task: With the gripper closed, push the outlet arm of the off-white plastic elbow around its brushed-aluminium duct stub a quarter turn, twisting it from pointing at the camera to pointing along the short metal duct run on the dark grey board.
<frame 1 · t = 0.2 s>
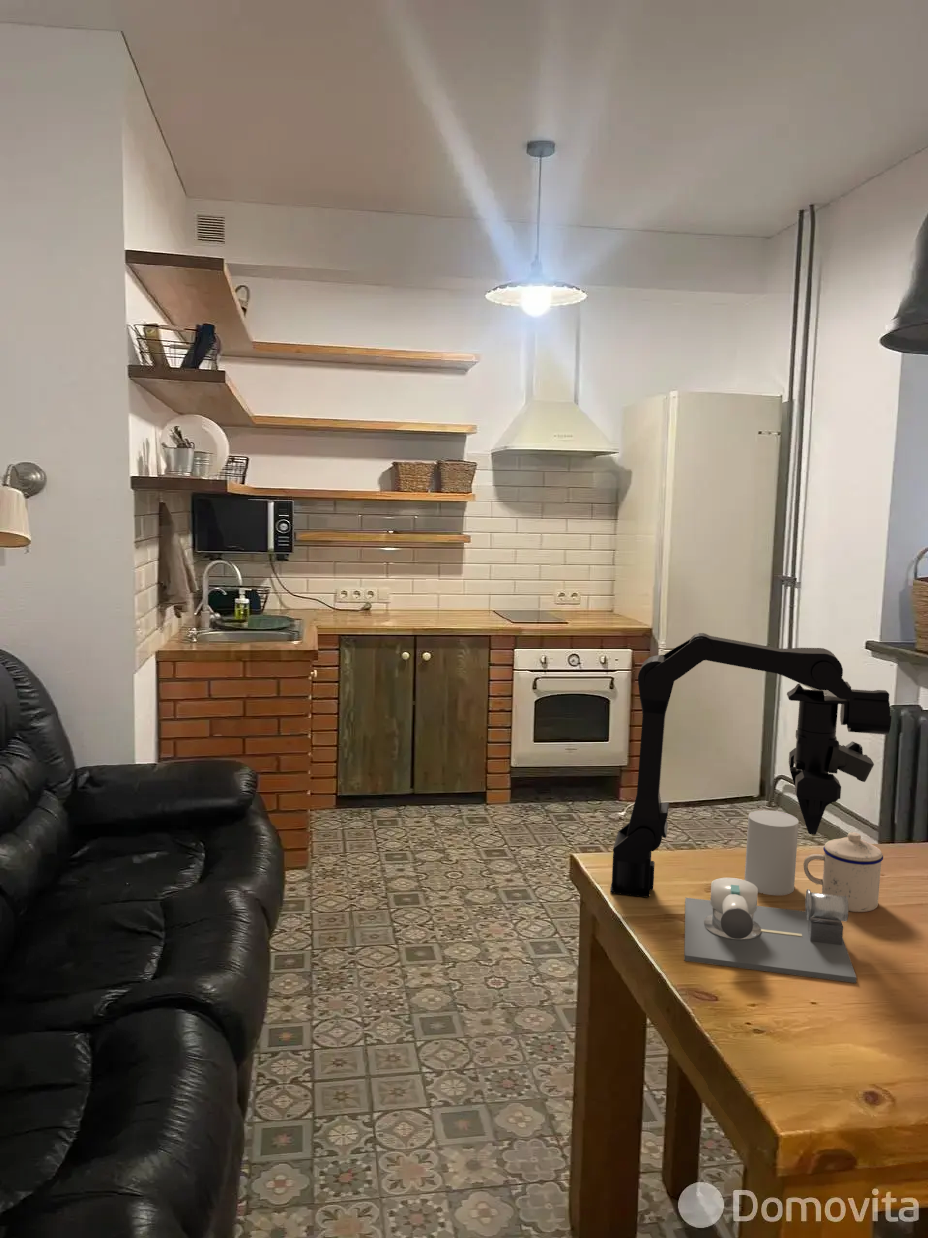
hand: (809, 824, 148), 14 cm above the table, fingers open, 9 cm apart
teacup with lid: (839, 901, 153), on the table
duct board: (763, 939, 139), on the table
duct run: (824, 943, 138), resting on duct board
elbow: (731, 932, 141), resting on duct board, hinge at 0.0°
duct stub: (731, 932, 141), resting on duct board
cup: (768, 886, 159), on the table
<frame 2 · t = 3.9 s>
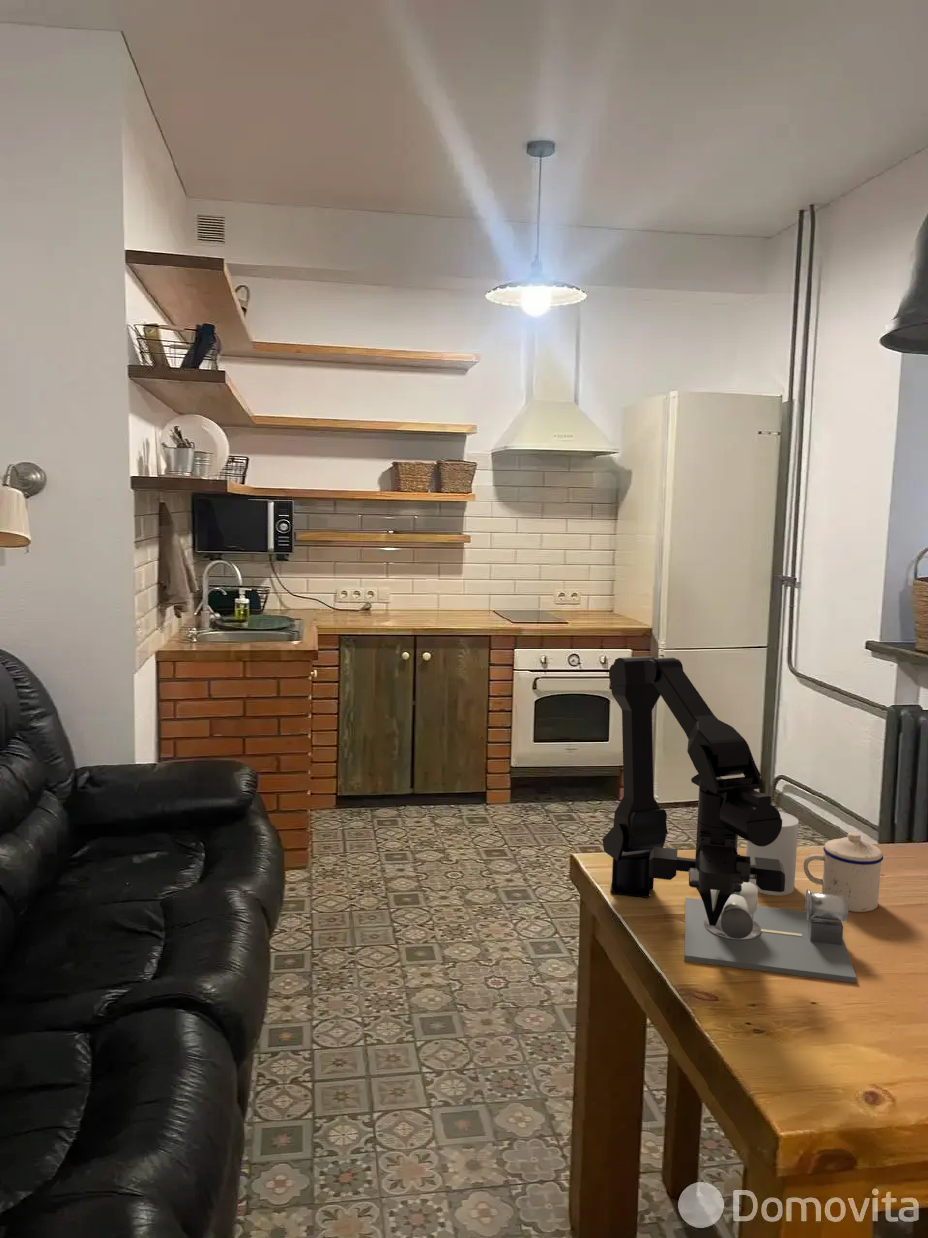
hand: (712, 924, 134), 4 cm above the table, fingers closed
elbow: (731, 932, 141), resting on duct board, hinge at 0.0°, touching gripper
everything else where it was.
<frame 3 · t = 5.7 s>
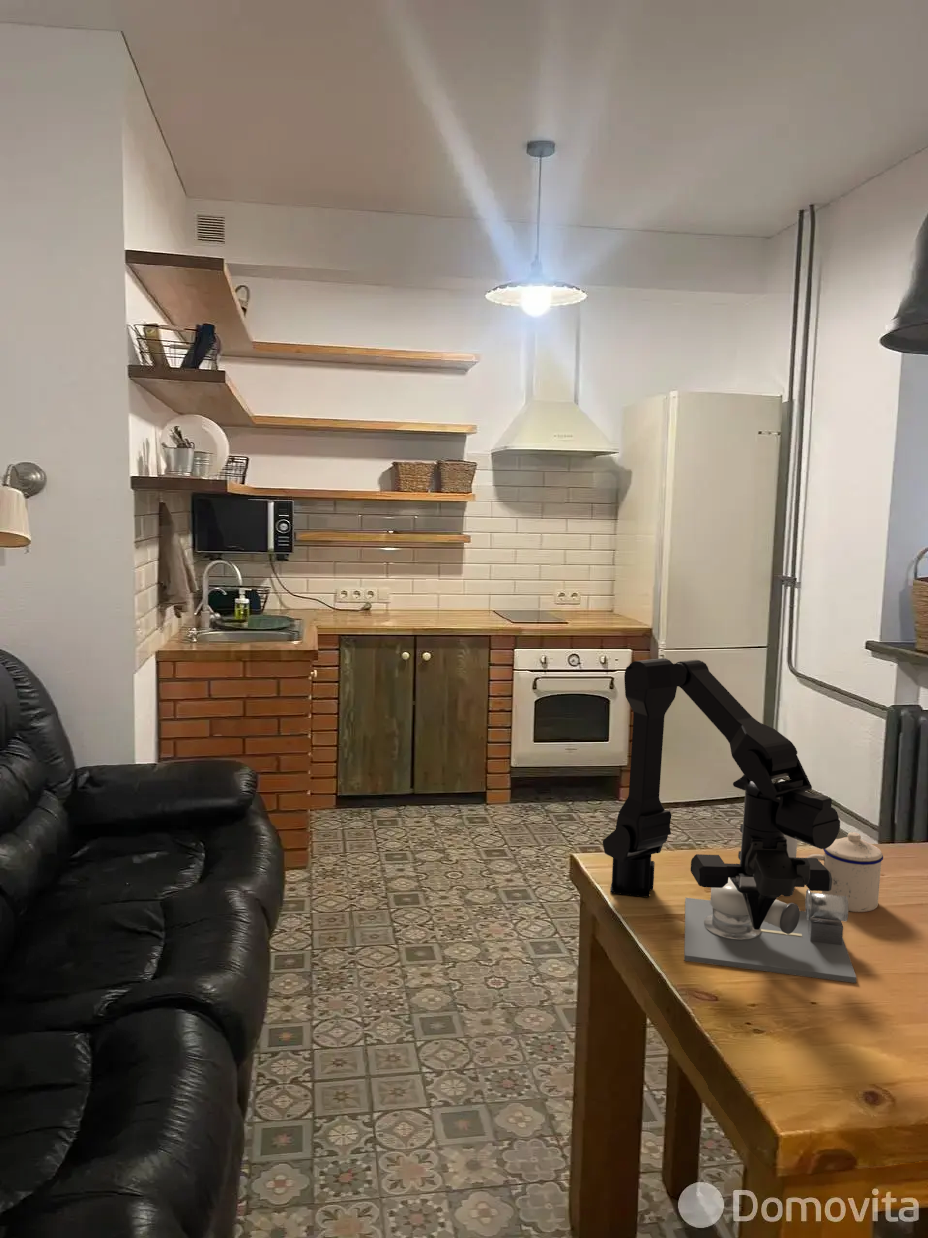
hand: (755, 928, 134), 4 cm above the table, fingers closed
elbow: (731, 932, 141), resting on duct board, hinge at 53.4°, touching gripper
everything else where it was.
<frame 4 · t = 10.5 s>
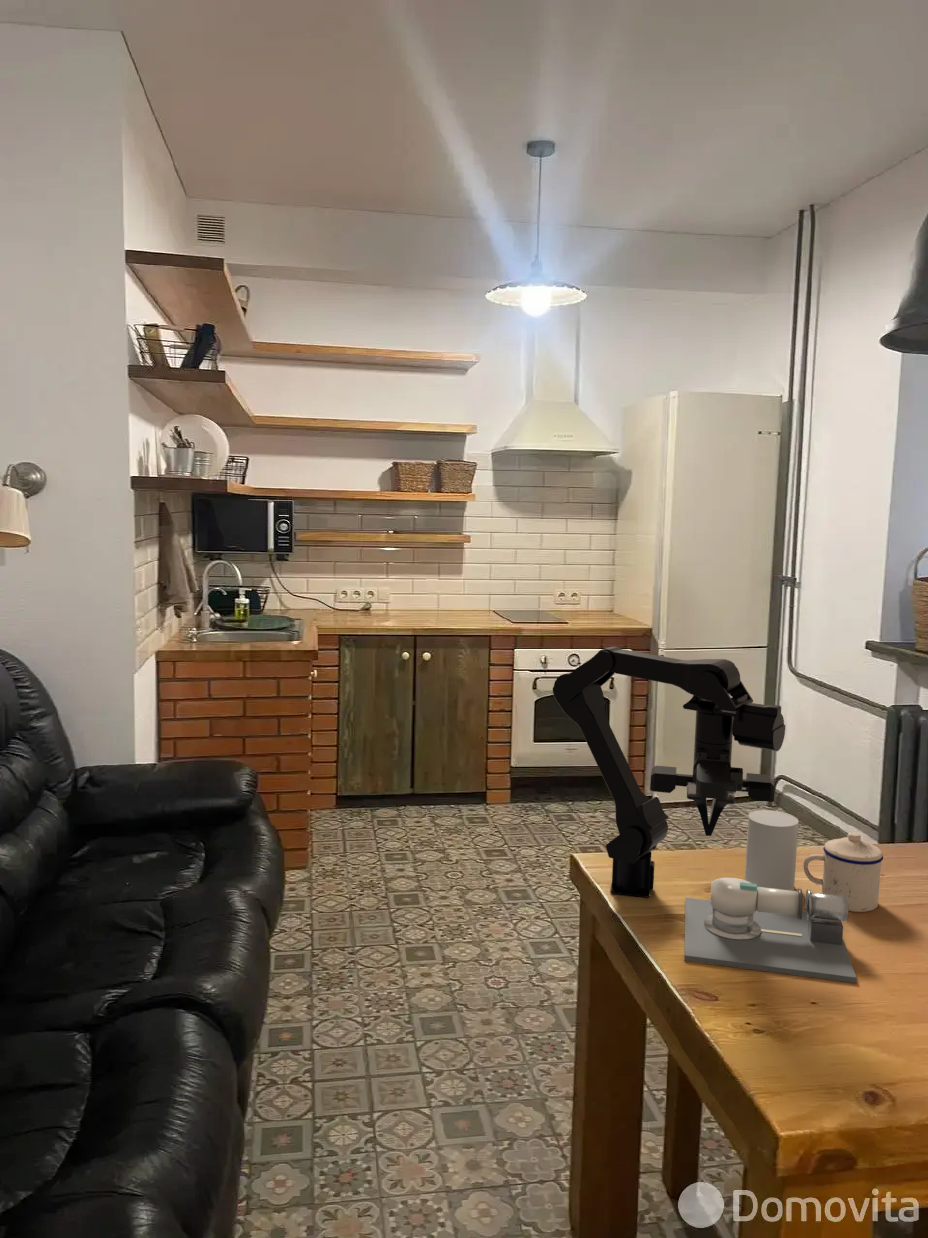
hand: (708, 835, 147), 13 cm above the table, fingers closed
elbow: (731, 932, 141), resting on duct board, hinge at 88.8°
everything else where it was.
at the end: elbow at +89° (first picture: +0°) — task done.
